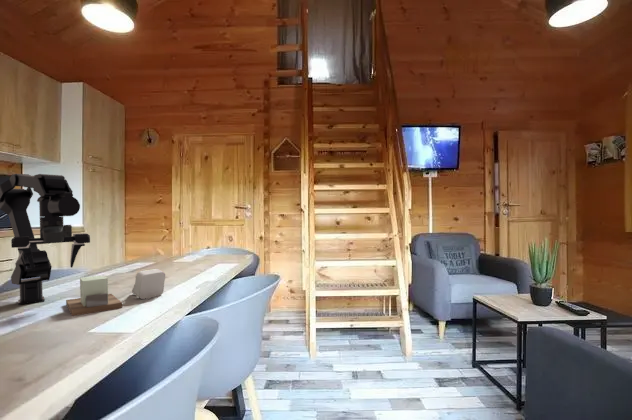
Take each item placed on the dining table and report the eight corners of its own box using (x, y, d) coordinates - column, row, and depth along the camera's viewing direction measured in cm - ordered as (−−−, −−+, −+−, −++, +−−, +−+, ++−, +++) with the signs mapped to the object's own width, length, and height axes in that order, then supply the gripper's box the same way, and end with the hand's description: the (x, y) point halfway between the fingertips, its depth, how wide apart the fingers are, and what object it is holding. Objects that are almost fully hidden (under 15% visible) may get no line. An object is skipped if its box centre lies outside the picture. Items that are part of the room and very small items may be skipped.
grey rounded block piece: (145, 289, 128) (148, 261, 126) (162, 300, 122) (165, 271, 121) (122, 294, 121) (125, 265, 120) (138, 305, 115) (141, 275, 114)
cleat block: (80, 301, 108) (80, 278, 108) (104, 298, 112) (103, 275, 112) (83, 306, 102) (83, 281, 102) (108, 302, 106) (107, 278, 106)
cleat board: (66, 305, 111) (65, 290, 111) (111, 298, 118) (110, 284, 118) (72, 316, 98) (71, 299, 98) (122, 307, 106) (121, 292, 106)
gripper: (10, 217, 98) (11, 276, 98) (92, 215, 109) (93, 268, 109) (11, 217, 106) (12, 272, 106) (86, 215, 118) (88, 264, 118)
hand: (52, 269), depth 110 cm, fingers open, 9 cm apart
